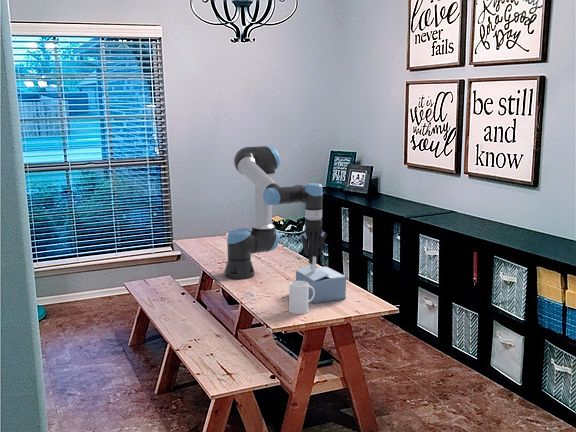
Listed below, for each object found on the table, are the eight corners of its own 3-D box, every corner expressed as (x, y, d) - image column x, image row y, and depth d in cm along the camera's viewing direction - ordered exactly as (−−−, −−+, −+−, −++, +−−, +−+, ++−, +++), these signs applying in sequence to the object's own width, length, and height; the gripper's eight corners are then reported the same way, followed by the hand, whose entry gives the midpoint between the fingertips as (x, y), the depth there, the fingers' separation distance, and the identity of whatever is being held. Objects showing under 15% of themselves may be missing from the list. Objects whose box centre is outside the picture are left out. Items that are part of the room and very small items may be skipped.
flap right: (330, 279, 265) (330, 278, 265) (312, 269, 281) (312, 268, 281) (345, 277, 268) (345, 276, 268) (326, 267, 284) (326, 266, 284)
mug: (311, 305, 262) (311, 278, 259) (319, 311, 254) (319, 284, 252) (285, 308, 257) (285, 281, 255) (293, 315, 250) (293, 287, 247)
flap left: (314, 281, 262) (313, 280, 262) (296, 271, 277) (296, 270, 277) (328, 275, 264) (328, 274, 264) (310, 265, 280) (310, 264, 280)
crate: (313, 304, 263) (313, 282, 262) (295, 292, 279) (296, 271, 278) (345, 299, 270) (346, 277, 268) (326, 288, 286) (326, 267, 284)
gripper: (304, 221, 260) (303, 274, 265) (330, 219, 266) (329, 270, 270) (296, 218, 267) (296, 269, 271) (322, 216, 272) (322, 266, 277)
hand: (313, 270), depth 271 cm, fingers closed
